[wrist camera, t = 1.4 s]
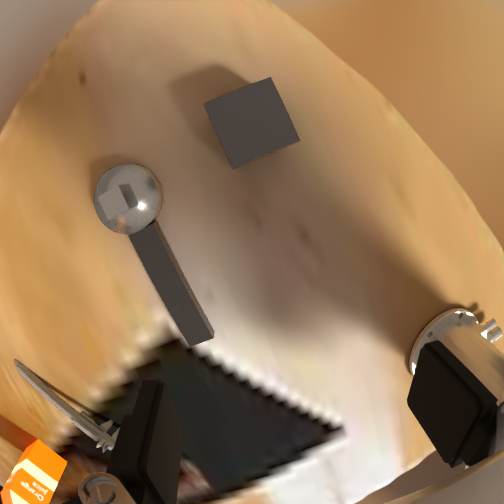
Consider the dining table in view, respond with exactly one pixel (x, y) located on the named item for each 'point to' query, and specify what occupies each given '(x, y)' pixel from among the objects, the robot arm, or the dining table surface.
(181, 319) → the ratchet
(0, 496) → the brown coffee grinder
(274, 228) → the dining table surface
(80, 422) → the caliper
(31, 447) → the orange juice
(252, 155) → the grey stone cube
